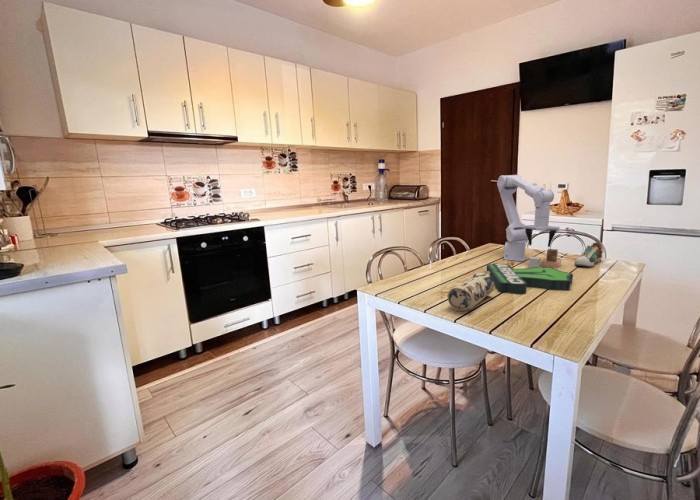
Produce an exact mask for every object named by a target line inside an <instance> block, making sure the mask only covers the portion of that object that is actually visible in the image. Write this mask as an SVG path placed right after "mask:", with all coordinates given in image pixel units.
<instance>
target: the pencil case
mask: <svg viewBox="0 0 700 500" xmlns="http://www.w3.org/2000/svg"><path fill="white" fill-rule="evenodd" d="M494 288H495V285H494V280H493V279H492V278H491V277H490V272H489V271H487V270H483V272H478V273H474V274H473V276H472V278H469V279H468V280H465V281H464V282H462V283H460V284H459V285H457V286H453V287H451V288H450V289H449V290H448V292H447V301H448V303H449V305H450V306H451V308H452V309H454V310H455V311H460V312H461V311H462V312H463V311H468V310H471V309H473V308H474V307H475V306H477V305H478V304H479V303H480V302H481V301H482V300H484V299H485V298H486V297H487V296H489V295H490V294H492V292H493V291H494Z"/></svg>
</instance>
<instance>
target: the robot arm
mask: <svg viewBox="0 0 700 500" xmlns="http://www.w3.org/2000/svg"><path fill="white" fill-rule="evenodd" d="M496 185H497V189H498V191H499V194H500V195H499V196H500V198H501V199H500V200H501V201H502V205H503V209H504V211H505V216H506V218H507V222H508V226H507V227H506V229H505V231H506V232H505V234H506V239H507V241H505V244H504V248H503V249H504V253H503V260H505V261H515V262H525V261H526V259H527V257H526V256H525V255H526V254H525V253H526V243H527V242H528V246H533V245H532V242H533V240H532V239H533V231H546V232H547V231H548V232H549V233H548V243H547V247H548V248H550V247H551V244H552V240H553V238H554V237H555V235H556V233H557V232H560V230H561V229H560V226H552V225H549V220H550V210H551V203H552V202H553V201H554V198H555V194H554V192H553V190H552V189H545V188H544V187H541V186H539V185H538V184H537V183H536V182H532V183H529V182H528V181H526V180H525V179H523V178H522V176H521V175H520V174H511V175H510V174H509V175H503V174H502V175H500V176H499V177H498V179H497V181H496ZM518 188H520V189H521V190H524V193H525V194H526V195H527V196H528V197H531V198H532V200H533V202H534V207H535V209H534V211H535V212H534V222H533V223H534V224H532V225H528V224H527V225H526V224H524V223H522V222H521V219H520V215H519V213H518V209H517V206H516V202H515V200H514V197H513V196H514V195H513V194H514V193H515V192H517V190H518Z"/></svg>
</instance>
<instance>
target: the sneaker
mask: <svg viewBox="0 0 700 500" xmlns="http://www.w3.org/2000/svg"><path fill="white" fill-rule="evenodd" d="M603 252H604V251H603V248H602V244H601V243H598V242H593V243H591V244H590V245H586V248H585V250H583V252H582V253H581V254H580V255H579V256H577V257H576V258H575V260H574V265H575V266H581V267H590V268H591V267H594V265H595V264H597V263H599V261H600V262H601V260H602V258H603V255H602V254H603ZM596 262H597V263H596Z"/></svg>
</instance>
